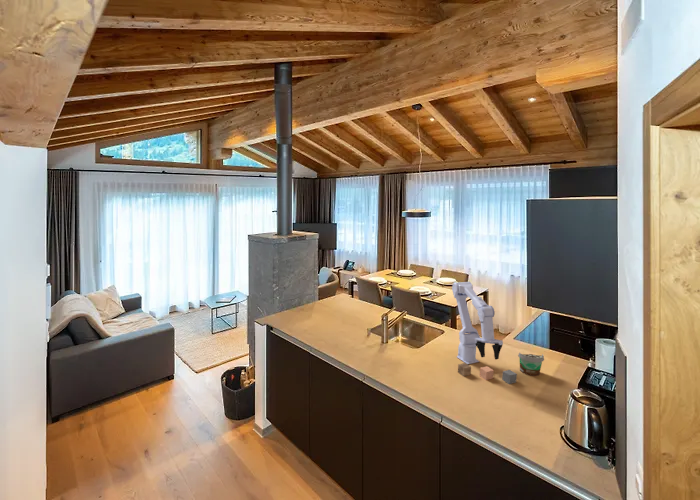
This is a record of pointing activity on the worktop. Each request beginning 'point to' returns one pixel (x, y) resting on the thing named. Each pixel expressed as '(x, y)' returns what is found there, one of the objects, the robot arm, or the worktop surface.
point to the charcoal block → (509, 376)
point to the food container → (530, 364)
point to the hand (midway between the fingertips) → (489, 358)
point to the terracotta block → (486, 373)
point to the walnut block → (464, 369)
